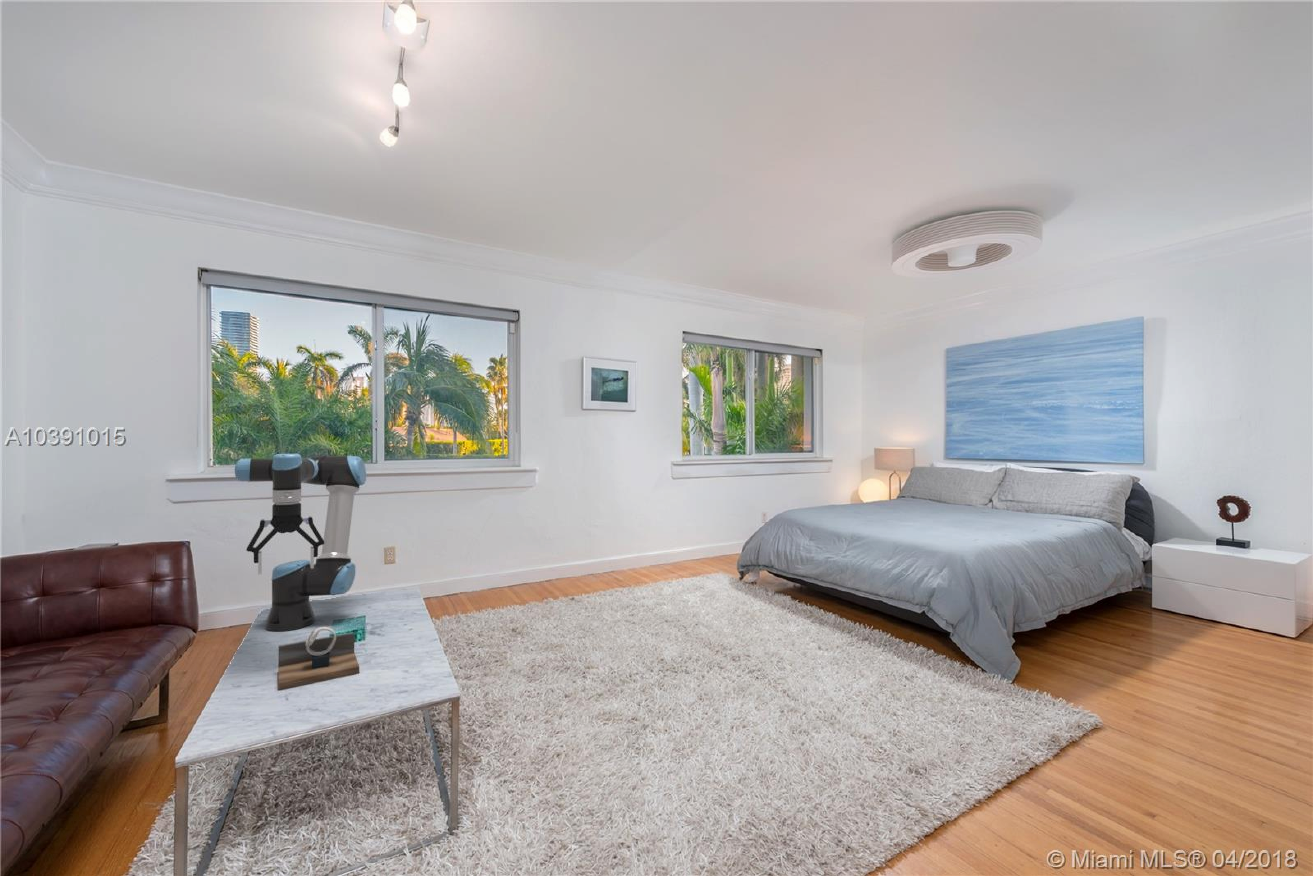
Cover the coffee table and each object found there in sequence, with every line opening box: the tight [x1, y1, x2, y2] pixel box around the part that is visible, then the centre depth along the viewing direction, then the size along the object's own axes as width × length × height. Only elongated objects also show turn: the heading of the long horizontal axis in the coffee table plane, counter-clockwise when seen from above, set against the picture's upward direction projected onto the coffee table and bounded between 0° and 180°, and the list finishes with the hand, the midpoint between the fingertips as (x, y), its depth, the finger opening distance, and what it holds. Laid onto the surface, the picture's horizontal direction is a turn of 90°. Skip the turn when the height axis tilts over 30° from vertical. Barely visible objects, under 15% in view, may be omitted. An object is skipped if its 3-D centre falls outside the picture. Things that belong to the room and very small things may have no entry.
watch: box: [305, 626, 337, 669], centre depth 166 cm, size 6×8×11 cm
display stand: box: [277, 632, 360, 691], centre depth 165 cm, size 14×20×8 cm
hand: (286, 570), depth 172 cm, fingers open, 13 cm apart
